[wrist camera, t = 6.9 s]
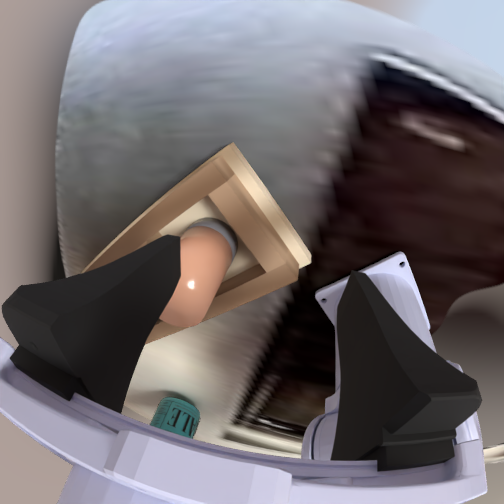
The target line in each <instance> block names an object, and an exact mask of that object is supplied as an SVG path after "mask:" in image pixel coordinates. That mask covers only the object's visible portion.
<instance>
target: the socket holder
mask: <svg viewBox="0 0 504 504" xmlns="http://www.w3.org/2000/svg"><path fill="white" fill-rule="evenodd" d="M205 217H212V218H216V219H219V220H221V221H223V222H225V223H226V224H227V225H229V226H230V227H231V229H232V230H233V231H234V233H235V235H236V237H237V240H238V251H237V254H236V256H235V258H234V260H233V262H232V264H231V266H230V267H229V269H228V271H227V273H226V275H225V277H224V279H223V281H222V283H221V285H220V287H219V289H218V291H217V293H216V295H215V297H214V299H213V301H212V303H211V305H210V307H209V309H208V311H207V313H206V315H205V317H204V318H203V320H202V321H201V322H203V321H205V320H208V319H210V318H213V317H215V316H217V315H220V314H222V313H224V312H227V311H229V310H232V309H234V308H236V307H239V306H241V305H243V304H245V303H248V302H250V301H252V300H255V299H257V298H259V297H261V296H264V295H266V294H268V293H270V292H273V291H275V290H277V289H279V288H282V287H284V286H286V285H288V284H290V283H293V282H295V281H297V280H298V272H299V268H301V267H303V266H306V265H308V264H310V263H311V254H310V252H309V251H308V249H307V248H306V246H305V245H304V243H303V242H302V240H301V239H300V237H299V235H298V234H297V232H296V231H295V229H294V228H293V226H292V225H291V224H290V222H289V221H288V219H287V218H286V216H285V215H284V213H283V212H282V210H281V209H280V207H279V206H278V204H277V203H276V202H275V200H274V199H273V197H272V196H271V194H270V193H269V191H268V190H267V189H266V187H265V186H264V184H263V183H262V181H261V180H260V179H259V177H258V176H257V174H256V173H255V172H254V170H253V169H252V167H251V166H250V165H249V163H248V162H247V160H246V159H245V158H244V156H243V155H242V154H241V152H240V151H239V149H238V148H237V147H236V145H235V144H234V143H231V144H229V145H228V146H226V147H225V148H224V149H222V150H221V151H219V152H218V153H217V154H215V155H214V156H213V157H211V158H210V159H209V160H207V161H206V162H205V163H203V164H202V165H201V166H200V167H198V168H197V169H196V170H194V171H193V172H192V173H191V174H189V175H188V176H187V177H186V178H184V179H183V180H182V181H181V182H179V183H178V184H177V185H176V186H174V187H173V188H172V189H171V190H169V191H168V192H167V193H166V194H165V195H163V196H162V197H161V198H160V199H159V200H158V201H156V202H155V203H154V204H153V205H152V206H151V207H149V208H148V209H147V210H146V211H145V212H144V213H143V214H141V215H140V216H139V217H138V218H137V219H136V220H135V221H134V222H132V223H131V224H130V225H129V226H128V227H127V228H126V229H125V230H124V231H123V232H122V233H120V234H119V235H118V236H117V237H116V238H115V239H114V240H113V241H112V242H111V243H110V244H109V245H108V246H107V247H106V248H105V249H104V250H103V251H102V252H101V253H100V254H99V255H98V256H97V257H96V258H95V259H94V260H93V261H92V262H91V263H90V264H89V265H88V266H87V267H86V268H85V269H84V270H83V271H82V272H81V273H84V272H88V271H91V270H93V269H96V268H99V267H101V266H104V265H106V264H108V263H111V262H113V261H115V260H117V259H119V258H121V257H123V256H125V255H127V254H129V253H131V252H133V251H135V250H137V249H139V248H141V247H143V246H145V245H147V244H149V243H150V242H152V241H154V240H156V239H158V238H160V237H162V236H164V235H167V234H169V235H174V236H179V237H181V235H182V234H183V233H184V232H185V231H186V230H187V229H188V228H189V227H190V225H191V224H192V223H193V222H195V221H196V220H198V219H200V218H205ZM186 328H188V327H178V326H174V325H171V324H168V323H166V322H164V321H163V320H161V319H160V318H159V319H158V321H157V322H156V324H155V326H154V327H153V329H152V331H151V333H150V335H149V336H148V338H147V340H146V343H145V344H147V343H150V342H153V341H155V340H158V339H160V338H163V337H165V336H168V335H171V334H173V333H176V332H178V331H181V330H183V329H186Z"/></svg>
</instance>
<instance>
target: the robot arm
mask: <svg viewBox="0 0 504 504" xmlns="http://www.w3.org/2000/svg"><path fill="white" fill-rule="evenodd" d="M401 262H404V263H403V264H402V265H399V264H400V263H401ZM180 277H181V243H180V237H179V236H174V235H169V234H167V235H164V236H162V237H160V238H158V239H156V240H154V241H152V242H150V243H149V244H147V245H145V246H143V247H141V248H139V249H137V250H135V251H133V252H131V253H129V254H127V255H125V256H123V257H121V258H119V259H117V260H115V261H113V262H111V263H108V264H106V265H104V266H101V267H99V268H96V269H93V270H91V271H88V272H84V273H81V274H78V275H75V276H71V277H68V278H64V279H60V280H55V281H50V282H45V283H38V284H30V285H21V286H20V287H18V289H17V290H16V291H15V292H14V293H13V294H12V295H11V296H10V297H9V298H8V299H7V300H6V301H5V302H4V303H3V305H2V313H3V317H4V319H5V321H6V323H7V325H8V327H9V329H10V330H11V332H12V334H13V335H14V337H15V339H16V340H17V342H18V344H19V346H18V347H17V349H16V350H15V349H14V348H13V347H12V346H11V345H10V344H9V343H8V342H6V341H5V340H4V339H2V338H1V337H0V412H1V413H2V414H3V415H4V416H5V417H7V418H8V419H9V420H10V421H11V422H12V423H14V424H15V425H16V426H17V427H19V428H20V429H21V430H22V431H24V432H25V433H26V434H28V435H29V436H30V437H31V438H33V439H34V440H35V441H37V442H38V443H40V444H41V445H43V446H44V447H45V448H47V449H48V450H50V451H51V452H53V453H54V454H56V455H57V456H59V457H60V458H62V459H63V460H65V461H67V462H68V463H70V464H72V465H73V467H72V470H71V472H70V474H69V476H68V479H67V481H66V483H65V486H64V488H63V490H62V493H61V495H60V498H59V500H58V502H57V504H462V503H464V502H467V501H469V500H472V499H474V498H476V497H478V496H480V495H483V494H485V493H486V492H487V481H486V473H485V466H484V453H483V446H482V436H481V431H480V426H479V421H478V417H477V413H476V411H477V409H478V408H479V406H480V404H481V402H482V399H481V395H480V392H479V388H478V385H477V382H476V380H474V379H472V378H471V377H469V376H468V375H466V374H464V373H463V372H462V369H461V367H460V365H459V364H456V363H451V362H450V361H449V360H444V359H443V358H442V357H440V356H439V355H438V354H437V353H436V350H435V347H434V344H433V341H432V338H431V335H430V332H429V328H430V324H429V321H428V318H427V314H426V311H425V308H424V305H423V302H422V299H421V296H420V293H419V291H418V288H417V285H416V282H415V279H414V277H413V274H412V271H411V269H410V266H409V264H408V261H407V259H406V256H405V254H404V253H403V252H397V253H395V254H393V255H391V256H389V257H387V258H385V259H383V260H381V261H379V262H377V263H375V264H373V265H371V266H369V267H367V268H364V269H362V270H360V271H358V272H357V271H351V274H350V276H348V277H345V278H343V279H341V280H339V281H337V282H335V283H332V284H330V285H328V286H326V287H323V288H321V289H319V290H317V291H316V293H315V298H316V300H317V301H318V303H319V304H320V305H321V307H322V308H323V310H324V311H325V313H326V314H327V316H328V317H329V319H330V320H331V322H332V323H333V325H334V326H335V345H336V393H335V394H334V395H333V396H331V397H329V398H327V399H326V402H325V414H323V415H320V416H318V417H316V418H315V419H313V420H312V422H311V423H310V424H309V426H308V428H307V430H306V432H305V435H304V439H303V444H302V451H301V459H299V458H289V457H281V456H273V455H266V454H259V453H253V452H248V451H242V450H237V449H232V448H227V447H223V446H219V445H214V444H210V443H206V442H202V441H198V440H195V439H191V438H188V437H184V436H181V435H178V434H174V433H171V432H168V431H165V430H162V429H159V428H156V427H153V426H151V425H148V424H145V423H142V422H140V421H137V420H134V419H132V418H129V417H127V416H125V415H122V414H121V412H122V408H123V404H124V401H125V397H126V394H127V391H128V388H129V384H130V381H131V378H132V375H133V373H134V370H135V367H136V365H137V362H138V359H139V357H140V354H141V352H142V350H143V347H144V345H145V343H146V340H147V338H148V336H149V335H150V333H151V331H152V329H153V327H154V326H155V324H156V322H157V321H158V319H159V317H160V316H161V314H162V312H163V311H164V309H165V307H166V306H167V304H168V302H169V301H170V299H171V297H172V296H173V294H174V291H175V289H176V287H177V284H178V282H179V280H180ZM323 298H325V299H326V300H322V299H323Z"/></svg>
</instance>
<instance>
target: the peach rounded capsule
mask: <svg viewBox="0 0 504 504" xmlns="http://www.w3.org/2000/svg"><path fill="white" fill-rule="evenodd" d="M180 243H181V277H180V280H179V282H178V284H177V287H176V289H175V291H174V294H173V296H172V297H171V299H170V301H169V302H168V304H167V306H166V307H165V309H164V311H163V312H162V314H161V316H160V317H159V318H160V319H161V320H163V321H164V322H166V323H168V324H171V325H174V326H178V327H192V326H195V325H197V324H199V323H200V322H201V321H202V320H203V318H204V317H205V315H206V313H207V311H208V309H209V307H210V305H211V303H212V301H213V299H214V297H215V295H216V293H217V291H218V289H219V287H220V285H221V283H222V281H223V279H224V277H225V275H226V273H227V271H228V269H229V267H230V266H231V264H232V262H233V260H234V258H235V256H236V254H237V251H238V240H237V237H236V235H235V233H234V231H233V230H232V229H231V227H230V226H229V225H227V224H226V223H225V222H223V221H221V220H219V219H216V218H212V217H205V218H200V219H198V220H196V221H195V222H193V223H192V224H191V225H190V227H189V228H188V229H187V230H186V231H185V232H184V233H183V234H182V235H181V237H180Z"/></svg>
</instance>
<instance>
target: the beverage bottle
mask: <svg viewBox="0 0 504 504" xmlns="http://www.w3.org/2000/svg"><path fill="white" fill-rule="evenodd" d="M158 405H159V406H157V407H158V408H157V410H156V413H155V415H154V417H153V419H151V420H152V421H151V423H150V425H151V426H153V427H156V428H159V429H162V430H165V431H168V432H171V433H174V434H178V435H181V436H184V437H188V438H191V439H193V437H194V433H196V431H197V428H196V427H197V426H198V422H200V421H199V419H200V412H199V411H198V410H197V409H196V408H195V407H194V406H193V405H191V404H189V403H187V402H185V401H183V400H180V399H177V398H173V397H165V398H163V399H162V400H161V402H160V404H158ZM195 430H196V431H195Z"/></svg>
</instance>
